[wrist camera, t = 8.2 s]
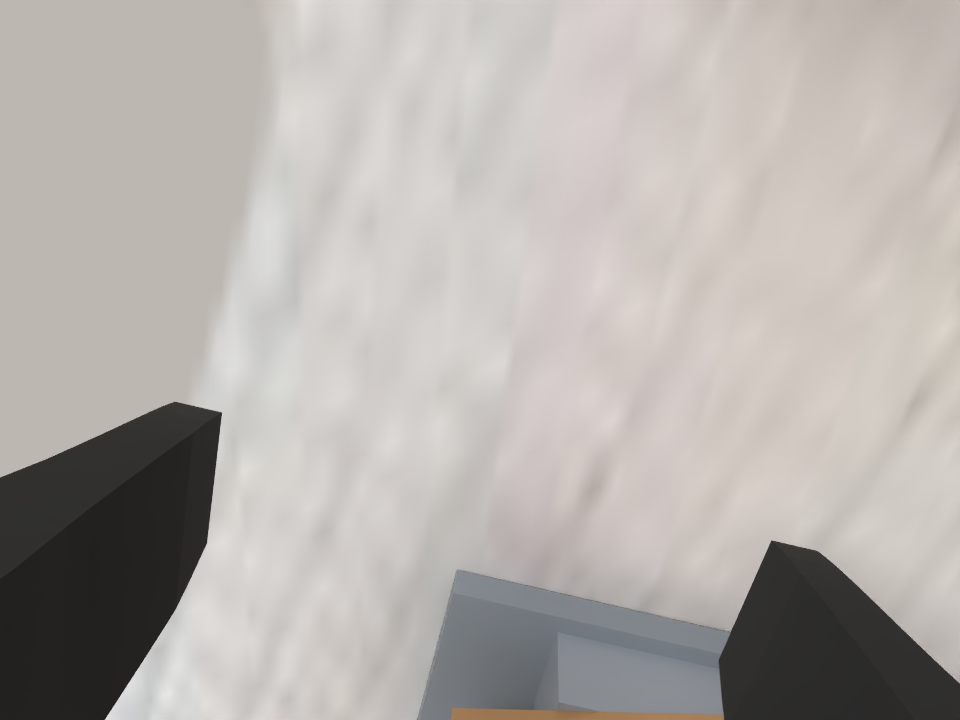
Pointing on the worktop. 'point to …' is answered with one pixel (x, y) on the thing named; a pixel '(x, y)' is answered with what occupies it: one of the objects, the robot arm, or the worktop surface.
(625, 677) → the display stand
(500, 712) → the tan c-shaped bracket
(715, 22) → the worktop surface
